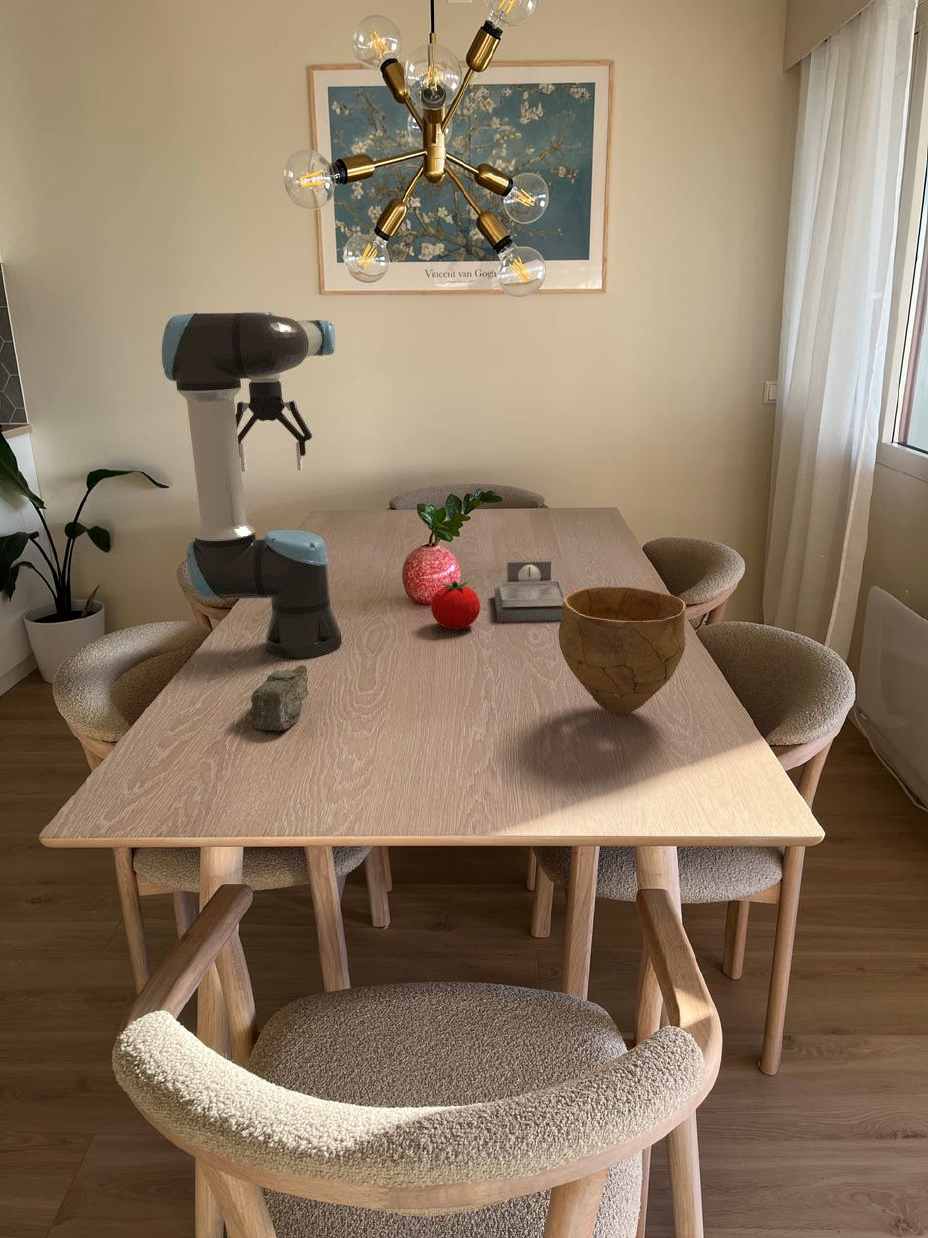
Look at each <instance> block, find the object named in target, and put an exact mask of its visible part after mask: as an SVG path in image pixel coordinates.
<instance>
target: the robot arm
mask: <svg viewBox="0 0 928 1238" xmlns="http://www.w3.org/2000/svg"><path fill="white" fill-rule="evenodd" d="M163 331H164V332H163V335H162V339H161V340H162V341H161V363H162V368H163V369H164V371H163V372H164V375H165V377H166V378H167V380H170V381H172V382H175V383H176V384H175V385H176V391H177V393H179V394H180V395H181V396H182V397H183V398H185V400H186V403H187V413H188V421H189V430H190V431H189V432H190V439H191V447H192V457H193V467H194V473H195V482H196V483H195V484H196V491H197V492H196V493H197V500H198V507H199V517H200V527H199V528H198V529H196V531H195V532H194V540H192V541H191V542H189V544H187V545H188V546H187V547H186V548H187V549H186V557H187V559H186V567H187V572H188V576H189V579H190V581H191V585H192V586H193V588H194V590H195V592H196V593H197V594H198V595H199V596H201V597H202V598H204V599H210V600H220V601H221V600H222V601H226V600H235V599H236V600H237V599H270V601H271V616H270V618H269V619H270V620H269V625H268V627H267V632H266V638H265V641H266V650H267V651H268V652H269V653H270V654H271V655H274V656H276V657H277V656H278V657H280V658H281V657H282V658H288V659H289V658H292V659H301V658H303V659H304V658H312V657H319V656H323V655H326V654H329V653H332V652H334V651H335V650H337V649H338V648H340V647H341V645H342V644H343V643H342V632H341V629H340V627H339V624H338V622H337V619H336V617H335V614H334V611H333V610H332V606H331V595H330V594H331V593H330V581H329V566H328V564H329V558H328V552H327V547H326V546H327V545H326V542H325V540H324V538H322V537H320V535H317V534H315V533H312V532H309V531H304V530H300V529H299V530H297V529H281V530H280V529H279V530H277V529H276V530H271V531H269V532H267V533H266V534H265V537H264V539H257V538H256V529H255V528H254V527H253V526H252V525H251V524H249V523H248V521H247V516H246V507H245V506H246V504H245V496H244V495H245V494H244V487H243V486H244V485H243V475H242V472H243V473H244V472H245V473H246V472H247V470H248V465H247V455H246V454H247V453H246V444H245V442H243V440H244V438H245V437H246V436H247V435H248V433H249V432H250V430H251V429H252V427H253V426H254V425H255V423H256V422H257V421H258V420H259V421H261V422H265V421H271V422H273V421H275V420H277V421H278V422H280V423H281V424H282V426H284V427H285V429H286V430H288V432H290V434H291V435H292V436H293V437H294V438H295V439H296V441H297V442H296V443H295V452H296V462H297V463H296V464H297V466H296V467H297V471H302V469H303V468H304V467H303V457H304V456H306V454H307V453H306V451H307V450H306V442H307V441H309V440H311V439H312V438H313V434H312V433H311V431H310V430H309V428H308V425H307V424H306V422H305V421H304V419H303V417H302V415H301V414H300V412H299V410H298V406H297V401H296V400H295V399H294V400H291V401H285V402H284V399H283V393H282V382H281V381H280V380H279V379H280V378H281V373H283V372H286V371H288V370H291V369H294V368H296V367H298V366H300V365H301V364H302V363H303V361H305V359H306V358H309V357H313V356H318V357H322V356H330V355H333V354H334V353H335V350H336V335H335V327H334V324H333V322H332V321H331V320H323V319H322V320H321V319H316V320H295V319H293V318H290V317H286V316H278V315H275V314H274V313H273V312H270V311H267V312H266V311H264V312H263V311H262V312H261V311H259V312H255V311H254V312H213V313H211V312H210V313H207V312H205V313H204V312H203V313H200V312H198V313H197V312H192V313H185V314H178V315H174V316H172V317H170V319H169V320H168V322H166V325H165V327H164V330H163ZM243 379H244V380H245V379H248V380H249V381H250V382H248V391H249V393H248V394H249V402H244V401H239V402H237V403H236V405H235V397H236V396H237V394H238V393H239V392H240V391H241V389H242V384H241V380H243ZM284 408H287V411H289V412H290V413H291V415H292V417H293V418H294V420H295V421H296V422H295V423H297V425H298V427H299V429H300V431H301V432H302V433H303V434H302V433H301V432H300V431H299V429H297V428H296V426H294V424H293V423H291V421H289V419H288V418H287V416H286V415H285V414H284V413H283V411H284ZM247 409H249V410H250V411H251V413H252V416H251V417H250V418H249V420H248V421H247V422H246V424H245V425H244V426H243V428H242V429H241V431H240V432H239V433H238V428H239V426H240V423H241V421H242V418H243V416H244V413H245V412H247Z"/></svg>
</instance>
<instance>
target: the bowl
mask: <svg viewBox="0 0 928 1238" xmlns="http://www.w3.org/2000/svg"><path fill="white" fill-rule="evenodd" d="M686 607H687V605H686V602H685V601H684V600H683V599H681V598H679V597H678V596H675V595H672V594H668V593H663V592H658V591H653V590H648V589H644V588H636V587H631V586H593V587H587V588H581V589H577V590H575V591H573V592H570V593H568V594H567V593H566V596H565V598H563V609H562V618H561V620H560V623H559V627H558V634H557V635H558V643H559V644H558V645H559V649H560V650H561V653H562V657H563V659H564V660H565V662H566V664H567V666H568V667H569V669H570V671H571V673H572V674H573V675H574V676H575V678H576V679H577V680H578V681H579V682H580V684H581V685H582V686H583V687H584V689H585V690H586V691H587V693H588V694H589V695H590V696H592V699H593V700H594V701H595V702H596V703H597V704H598V705H599V706H600V708H602V709H604V710H606V711H607V712H608V713H610V714H612V715H613V716H614V715H615V716H621V717H622V716H627V715H629V714H631V713H633V712H635V711H636V710H638V709H640V708H641V707H642V706H645V705H646V703H647V702H648V701H649V700H650V699H651V698H652V697H653V696H654V695H655V694H657V692H659V691H660V690H661V688H662V687H663V686H665V685H666V684H667V683H668V682H669V681H670V680H671V679H672V677H673V675H674V673H675V672H676V670H677V667H678V666H679V663H680V661H681V659H682V658H683V655H684V652H685V647H686V632H685V619H686Z"/></svg>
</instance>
